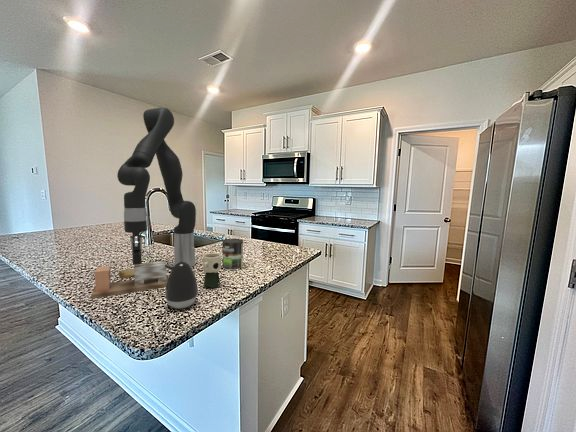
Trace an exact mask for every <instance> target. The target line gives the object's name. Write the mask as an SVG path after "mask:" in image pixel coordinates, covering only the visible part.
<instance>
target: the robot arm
mask: <svg viewBox="0 0 576 432" xmlns="http://www.w3.org/2000/svg"><path fill="white" fill-rule="evenodd" d="M142 117H143V122H144V126H145V128H146V131H147V134H146V135H145V136H144V137H143V138H142V139H141V140H139V142H138V143H137V144H136V146H135V148H134V149H133V152H132V154H131V156H130V157H129V158H127V160H125V161H124V163H122V164H121V166H120V167H119V168H118V171H117V175H116V176H117V180H118V182H119V183H120V184H121V185H123V186H129V187H130V186H131V187H134V188H133V190H132V191H128V192H126V193H124V194H123V226H124V228H123V230H124V232H125V233H127V234H131V235H130V237H129V238H130V243H131V244H130V246H131V247H130V248H131V249H133V255H134V264H140V263H141V260H140V254H141V253H142V251H141V252H140V249H141V250H142V247H143V244H142V243H143V235H142V234H141V233H143V232H144V233H145V232H147V231H148V216H147V215H148V214H147V205H146V204H147V203H146V201H147V200H146V196H147V194H148V193H147V192H148V188H149V186H150V185H149V184H150V182H151V181H150V180H151V176H150V172H149V171H148V170H147V169H146V168H149V167H150V166H151V165H152V163H153V161H154V158H155V156H156V159H157V163H158V168H159V170H160V174H161V176H162V180H163V184H164V188H165V191H166V195H167V201H168V206H169V207H168V208H169V211H170V214H171V216H173V218H175V219H178V224H177V225H176V226H174V228H173V253H174V254H173V255H174V256H173V257H174V259H173V260H174V265H175V264H176V263H178V262H186V263H188V264H189V265H190V267H191V268H192V267H196V247H195V238H194V237H195V235H194V234H195V231H194V230H195V227H196V217H197V208H196V206H195V204H194V203H193V202H192V201H190V200H184V198H183V194H182V188H181V185H182V181H183V169H182V165H181V160H180V158H179V157H178V155H177V153H175V152H174V151H173V150H172V149H171V147H170V146H169V145H168V143H167V141H165V138H167V136H168V134H170V132H171V130H172V129H173V127H174V125H175V117H174V115H173V113H172V111H171V110H170V109H169V108H166V107H157V108H149V109H146V110H144V112H143V115H142ZM140 234H141V235H140ZM135 250H139V251H135Z"/></svg>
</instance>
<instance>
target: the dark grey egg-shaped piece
mask: <svg viewBox="0 0 576 432" xmlns="http://www.w3.org/2000/svg"><path fill="white" fill-rule="evenodd" d="M165 267H166V269H168V270H170V273H169V275H168V281H167V285H166V287H165V295H164V297H165V299H166V301H167V304H168V305H169V306H170V307H171V308H173V309H177V310H178V309H180V310H181V308H182V309H185V308H188V307H190V306H192V305H193V304H194V303H195V301H196V299H197V296H198V294H199V288H198V283H197V282H198V281H197V278H196V275H195V272H194V270H193V268H192V267H190V265H189V264H188V263H186V262H178V263H176V264H174V265H171V264H168V263H166V265H165Z"/></svg>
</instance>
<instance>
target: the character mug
mask: <svg viewBox="0 0 576 432" xmlns="http://www.w3.org/2000/svg"><path fill="white" fill-rule="evenodd" d="M221 262H222V255H221V253H218V252H209V253H205V254H202V271H203V272H205V274H204V280H203V286H204V287H206V288H211V289H212V288H217V287H219V285H221V283H220V275H219V272H220V271H221V269H222V266H221Z"/></svg>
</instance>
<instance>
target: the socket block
mask: <svg viewBox="0 0 576 432" xmlns="http://www.w3.org/2000/svg"><path fill="white" fill-rule="evenodd" d="M111 276H112V275H111V265H106V266H105V265H104V266H97V267H96V268H95V271H94V284H95V285H94V288H96V292H100V291H107V290H110V286H111V283H112V278H111Z"/></svg>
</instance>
